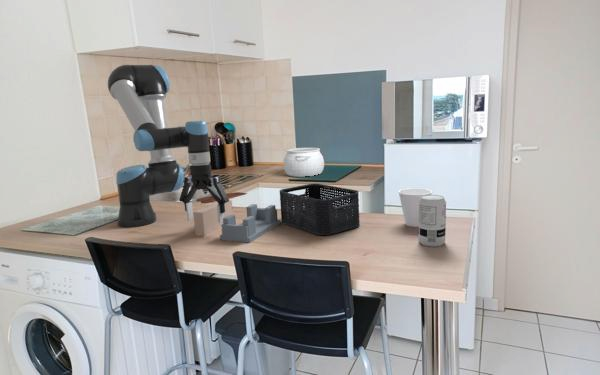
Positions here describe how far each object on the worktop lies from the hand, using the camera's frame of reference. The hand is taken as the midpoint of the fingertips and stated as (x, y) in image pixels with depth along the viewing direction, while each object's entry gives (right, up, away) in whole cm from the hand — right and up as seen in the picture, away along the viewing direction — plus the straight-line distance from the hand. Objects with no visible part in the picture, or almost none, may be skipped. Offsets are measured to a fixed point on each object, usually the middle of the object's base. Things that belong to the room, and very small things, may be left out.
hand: (205, 220), depth 158 cm
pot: (+38, +21, +120) cm, 128 cm away
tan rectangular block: (+2, -3, +7) cm, 8 cm away
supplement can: (+77, -6, -21) cm, 80 cm away
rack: (+17, -4, 0) cm, 17 cm away
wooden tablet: (-5, +7, +62) cm, 62 cm away
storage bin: (+42, -2, +6) cm, 43 cm away
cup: (+78, -1, 0) cm, 77 cm away
